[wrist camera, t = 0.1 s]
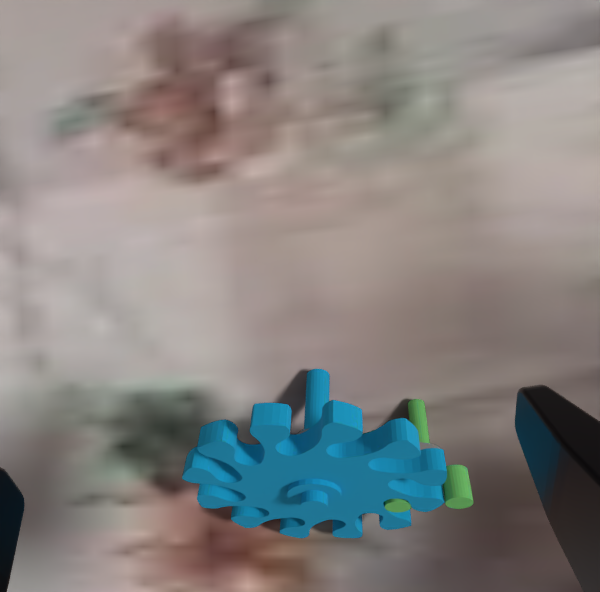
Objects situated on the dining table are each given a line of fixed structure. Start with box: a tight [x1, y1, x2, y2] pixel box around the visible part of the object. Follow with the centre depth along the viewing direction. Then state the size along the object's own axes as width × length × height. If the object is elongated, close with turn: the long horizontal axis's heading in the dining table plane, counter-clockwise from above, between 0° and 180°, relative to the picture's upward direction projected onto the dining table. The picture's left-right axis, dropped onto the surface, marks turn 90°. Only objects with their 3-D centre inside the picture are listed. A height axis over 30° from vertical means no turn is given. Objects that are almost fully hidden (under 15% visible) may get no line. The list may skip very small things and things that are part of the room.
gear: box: [182, 369, 473, 538], centre depth 22 cm, size 11×6×10 cm
